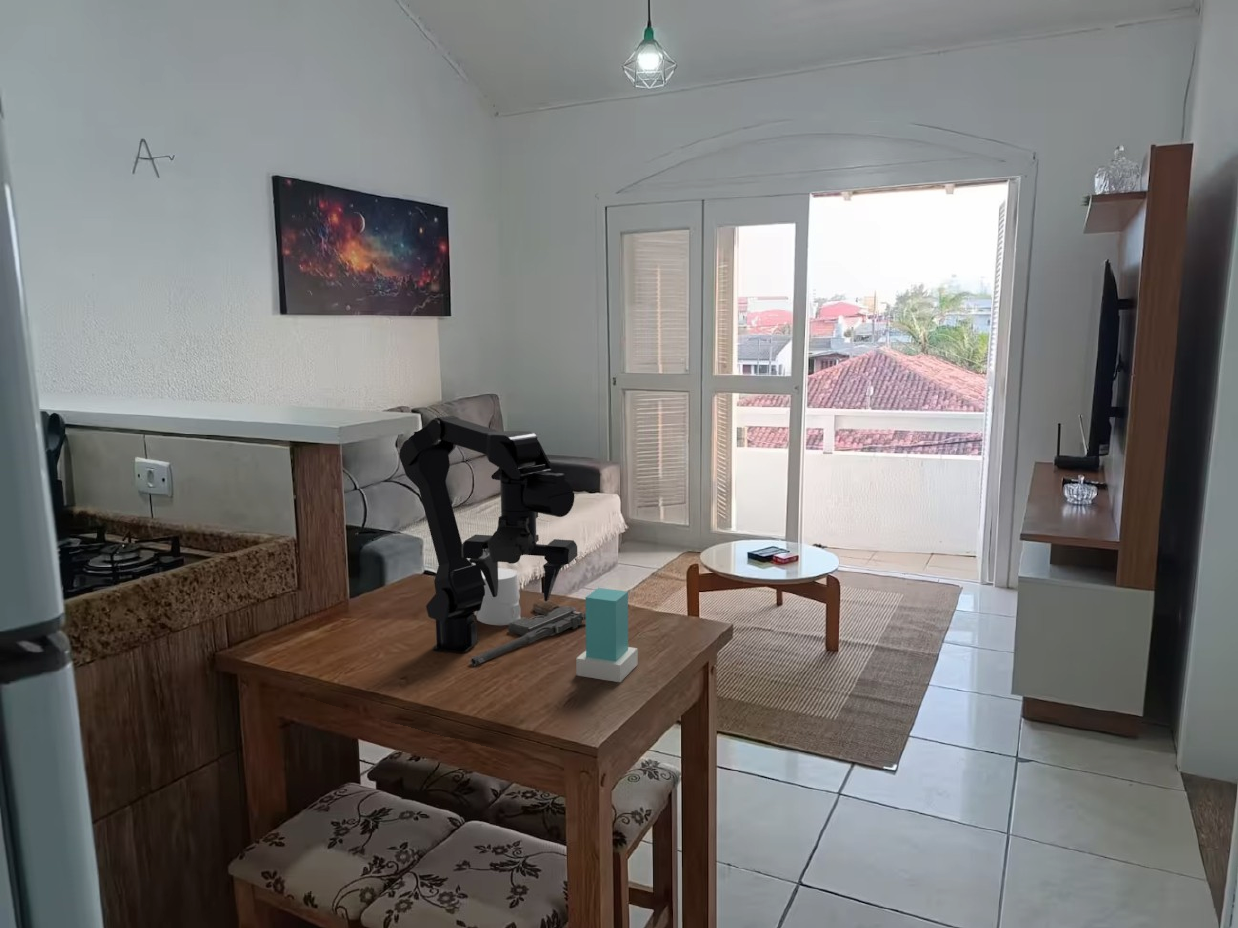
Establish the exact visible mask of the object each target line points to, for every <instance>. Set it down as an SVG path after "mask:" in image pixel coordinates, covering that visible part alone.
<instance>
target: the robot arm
mask: <svg viewBox="0 0 1238 928" xmlns="http://www.w3.org/2000/svg"><path fill="white" fill-rule="evenodd" d="M457 446H460V447H462V448H465V449H467V450H471V451H474V452H477V453H480V454H482V455H484V456H486V458H487V460H488V461H489V463H490V464H492V465H494V466H496V467H497V470H496V471H494V473H492V474H491V479H492V480H495V481H500V483H499V484H500V513H501V514H500V516H498V521H497V528H496V530H495V531H494V533H493V534H492V535H489V534H488V535H487V534H474V535H472V536H471V537H469V538H467V539H466V540H464V542H463V541H462V537H461V534H460V531H459V527H458V522H457V519H456V515H455V512H454V509H453V504H452V501H451V500H452V499H451V495H450V494H449V489H448V485H447V477H448V474H449V471H450V468H451V463H450V456H449V455H451V454H452V453H453V452H454V450H456V448H457ZM398 457H399V461H400V463H401V465H402V468H403V470H404V473H405V476H406V477H407V478H408V479H409V481H411V482H412V483H413V484H414V485H415V486H416V488H417V489H418V492H419V495H420V498H421V499H420V500H421V502H422V505H423V510H424V513H425V517H426V521H427V525H428V529H429V532H430V536H431V541H432V544H433V548H434V552H435V556H436V559H437V560H436V561H437V564H438V567H437V569H436V574H435V578H434V580H433V583H434V590H435V594H434V595H433V596H432V598H431V599H430V600H429V602H427V604H426V606H425V609H426V612H427V616H428V618H430V619H433V620H435V637H436V640H435V641H436V643H435V645H434V646H432V651H438V652H439V651H440V652H449V653H458V654H465V653H467V652H468V651H469V650H470V649H471V648H472V647H474V646H475V645H476V644H477V643H478V642H479V638H478V631H477V627H478V626H477V620H475V616H474V615H475V611H480V609H481V605H482V601H483V597H484V596H485V588H484V585H486V584H485V582H484V580H483V577H482V573H483V574H484V576H485V579H486V581H487V584H488V586H489V588H490V591H491V593H492V596H493V597H496V596H497V594H498V568H499V563H508V564H511V565H512V564H516V563H518V562H519V561H520V560H521V557H522V556H535V557H544V560H545V564H543V565H542V567H543V571H544V584H543V585H544V587H543V597H544V598H543V599H544V600H545V601H548V600H550V597H551V594H552V591H553V588H554V585H555V582H556V580H557V578H558V575H559V572H561V571H560V570H561V569H562V568H563V567H564V566H565V565H569V564H570V563H572V562H573V560H574V559H576V558H577V557H578V545H577V543H576V541H574V539H573V540H572V539H571V540H570V539H559V538H558V539H557V538H556V539H553V540H551V541H550V542H549V543H548V544H538V543H537V542H539V534H537V519H538V517H539V514H543V515H547V516H552V517H556V518H557V517H558V518H563V517H566V516H567V515H568V514H569V513H570V512H571V511H572V509H573V506H574V503H575V492H574V491H573V488H572V486H571V484H570V483H569V482H567V481H566V477H565V476H566V474H564V473H560V472H557V473H554V468H553V466H552V463H551V461H550V460H549V458H548V456H547V455H546V453H545V450H544V449H543V446H542V444H541V442H540V441H539V440H538V435H536V434H535V432H533V431H529V430H528V431H526V430H497V429H494V428H492V427H491V428H490V427H487V426H484V425H481V424H477V423H474V422H470V421H467V420H464V419H462V418H461V419H460V418H459V417H458V416H455V415H448V416H447V415H446V416H438V417H435V418H433V419H431V420H430V421H429V422H428V424H427V425H425V426H424V427H423V428H421V429H420V430H417V432H415V433H414V434H412V435H411V436H409V438H408V439H406V440H405V441H404V442H403V443H402V445H401V447H400V449H399V451H398ZM481 571H482V573H481Z"/></svg>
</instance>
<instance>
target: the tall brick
mask: <svg viewBox="0 0 1238 928" xmlns="http://www.w3.org/2000/svg"><path fill="white" fill-rule="evenodd" d="M584 598H585V600H584V601H585V614H586V620H585V651H586V657H590V658H597V659H603V660H610V661H617V660H618V659H619V658H620V657H621V656H622V655H623V654H624V653H625V652H627V651H628V647H629V591H628V590H627V591H626V590H619V589H609V588H604V587H603V588H601V587H598V588H597V589H595V590H593V591H592V592H591V593H589V594H588V595H587V596H585V597H584Z"/></svg>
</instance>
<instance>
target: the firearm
mask: <svg viewBox="0 0 1238 928" xmlns="http://www.w3.org/2000/svg"><path fill="white" fill-rule="evenodd" d="M532 608H533V611H534V612H535V613H537V614H540V615H536V616H533V617H527V616H523V617H520V618H521V619H518V620H516V621H513V622H511V623H509V625H507V627H508V629H507V630H508V633H510V634H514V635H517V636H521V637H518V638H515V639H513V640H511V641H508V642H506V643H503V644H501V645H499V646H497V647H493V648H492V649H490V650H488V651H485V652H482V653H480V654H477V655H476V656H473V657H471V658H470V664H471V665H473V666H477V665H480V664H482V663H484V662H487V661H489V660H491V659H494V658H496V657H499V656H501V655H503V654H505V653H508V652H510V651H513V650H515V649H517V648H520V647H522V646H524V645H527V644H532V643H533V642H536V641H539V640H540V639H541V638H544V637H552V636H555V635H556V634H559V633H562V632H563V631H565V630H567V629H569V628H571V629H573V630H574V629H577V628H578V627H579V626H582V625H583V621H586V613H581V611H580V612H579V611H576V608H575V607H574V606H559V604H557V603H555V602H554V601H553V600H550V599H549V600H548V601H545V600H544V598H543V597H541V598H538V599H537V600H536V601H535V602H534V603H533V605H532Z"/></svg>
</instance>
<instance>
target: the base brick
mask: <svg viewBox="0 0 1238 928" xmlns="http://www.w3.org/2000/svg"><path fill="white" fill-rule="evenodd" d="M638 650H639V649H638V648H637V647H630V646H628V651H627V652H625V653H624V654H623V655H622V656H621V657H620V658H619V659H618V660H617V661H610V660H603V659H597V658H590V657H586V650H585V651H583V652H582V653H581V654H579V655H578V656H577V657H576V658H575V659H576V660H575V661H576V667H575V668H576V676H579V677H583V678H584V677H585V678H593V679H598V680H602V681H609V682H615V683H621V682H622V681H623V680H624V679H625V678H626V677H627V676H628V675H629V674H630V673H631V672H632V671H633V670H635V668H636V667H637V666H638V662H639V661H638V656H639V655H638V654H639V653H638Z"/></svg>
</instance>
